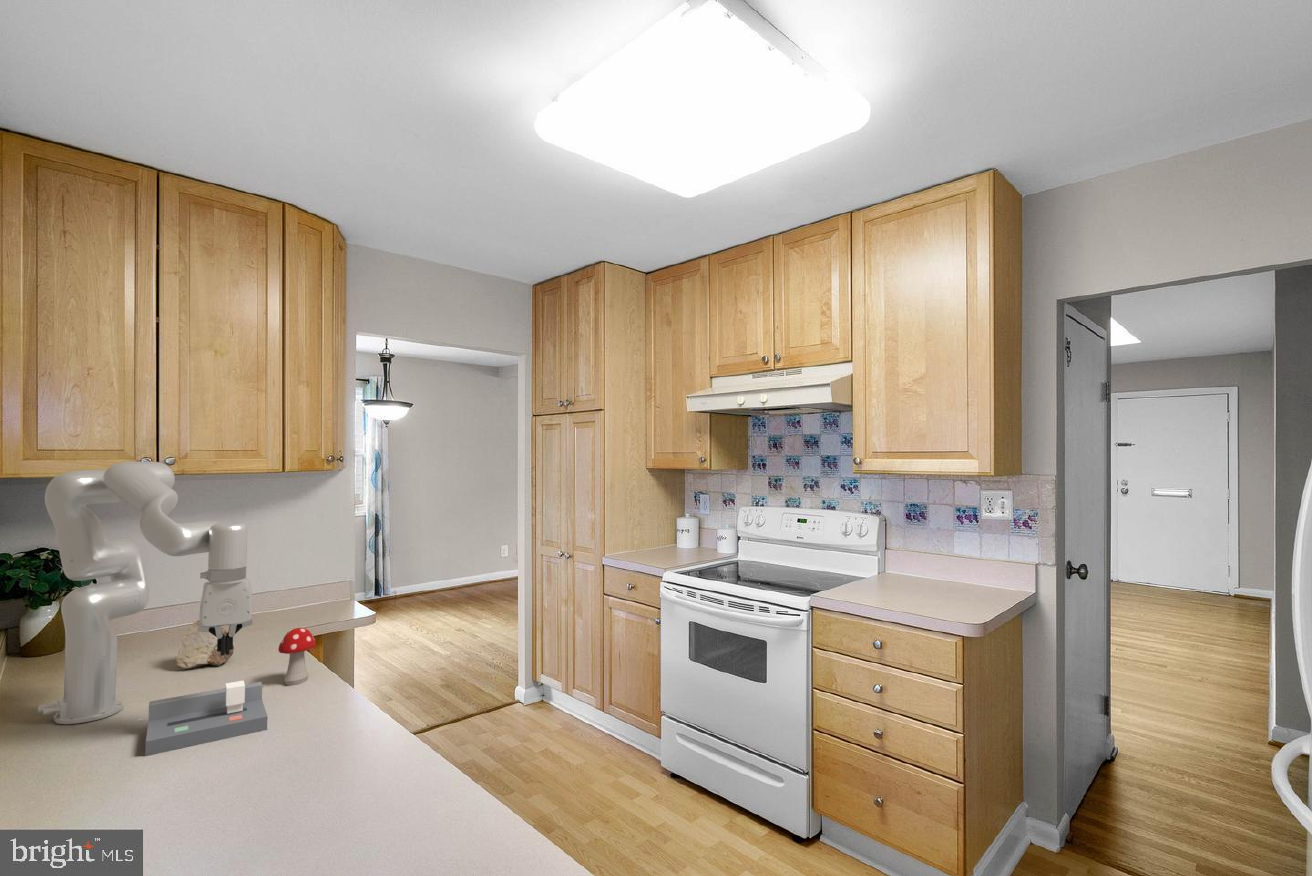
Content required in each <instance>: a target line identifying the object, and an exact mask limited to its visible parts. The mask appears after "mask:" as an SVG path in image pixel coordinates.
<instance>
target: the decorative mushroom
mask: <svg viewBox="0 0 1312 876" xmlns="http://www.w3.org/2000/svg"><path fill="white" fill-rule="evenodd" d="M314 637H315V636H313V634H312V633H311V631H310V630H309V629H307V628H304V627H296V628H293V629H291V630H289V631H288V632H287V633H286V634H285V635H284V636H283V639H282V640H281V642H280V643H279V646H278V650H277V651H278V653H280V654H285V655H287V654H288V655H289V657H288V658H289V660H288V665H287V670H286V674H285V675H284V679H283V681H284V685H286V686H296V685H301V684H302V683H305V682H306V681H307V680H308V677H309V675H310V674H309V672H308V669H307V665H306V658H305V652H307V651H309V650H312V649H314V647H315V646H316V644H317V643H316V639H315V638H314Z"/></svg>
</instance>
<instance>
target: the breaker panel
mask: <svg viewBox="0 0 1312 876" xmlns="http://www.w3.org/2000/svg"><path fill="white" fill-rule="evenodd" d="M262 730H263V731H267V730H268V713H267V711H266V707H265V705H264V702H263V683H262V681H258V682H253V683H251V682H250V683H247V684H245V703H243V711H239V712H234V713H229V714H227V706H226V703H225V687H224V688H218V689H212V690H207V691H201V692H195V693H190V694H185V695H180V696H179V695H178V696H173V697H168V698H162V699H156V700H152V701H150V700H149V702H148V723H147V729H146V738H145V752H144V755H145V757H147V756H151V755H156V754H160V753H161V754H162V753H166V752H170V751H175V750H179V749H184V748H188V747H193V746H197V745H198V746H199V745H203V744H207V743H210V742H211V743H212V742H216V741H220V740H225V739H230V738H235V737H239V736H240V737H241V736H242V735H243V736H244V735H248V734H252V733H253V734H254V733H257V732H262Z"/></svg>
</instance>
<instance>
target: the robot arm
mask: <svg viewBox="0 0 1312 876" xmlns="http://www.w3.org/2000/svg"><path fill="white" fill-rule="evenodd" d="M175 480H176V477H175V473H174V471H173V469H172V468H171V467H170V466H168V465H167V464H165V463H163V462H159V461H124V462H118V463H116V464H113V465H111V466H109V467H108V468H107V469H85V470H71V471H66V472H63V473H61V474H58V475H55V476H54V477H53V478H52V479H51V480H50V481H49V483H48V485H47V486H46V489H45V493H44V503H45V508H46V511H47V513H48V516H49V517H50V520H51V522H52V524H53V526H54V530H55V533H56V541H57V547H58V551H59V558H60V562H61V563H60V564H61V567H62V570H63V573H64V575H65V576H66V578H67V579H69V580H70V581H77V582H78V581H79V582H82V581H90V580H95V579H100V578H107V577H110V579H111V581H105V582H98V583H93V584H89V585H85V586H83V585H82V586H81V587H78V588H76V589H73V590H71V591H70V592H68V593H67V594H66V595H65V596H64V598H63V600H62V602H61V604H60V611H61V616H62V621H63V626H64V633H65V648H64V649H65V651H64V654H65V658H64V660H65V661H64V684H63V697H62V699H61V700H57V701H56V702H55V703H45V704H40V705H38V707H37V715H38V714H40V715H41V714H42V715H45V716H46V715H51V714H55V713H56V714H55V715H54V716H53V722H54V723H56V724H60V725H75V724H76V725H77V724H83V723H84V724H85V723H88V722H93V721H98V720H101V719H105V718H107V717H110V716H112V715H113V716H114V715H115V714H117V713H119V712H120V711H122V709H123V708H124V702H122V701H121V700H117V699H116V691H117V687H116V686H117V685H116V684H117V663H118V662H117V661H118V660H117V659H118V637H117V634H116V631H114V629H113V628H112V627H111V625H110V623H109V621H111V620H115V619H120V618H125V617H128V616H132V615H135V614H137V613H139V612H142V611H143V610H144V609H145V608H146V607H147V605H148V603H149V599H150V590H149V589H150V588H149V583H148V579H147V572H146V567H145V563H144V562H145V561H144V557H143V553H142V550H141V549H140V547H139V546H138V544H137V543H136V542H134V541H133V540H131V539H130V538H129V539H128V538H124V537H122V538H121V537H116V538H115V537H114V538H106V537H105V535H104V529H103V525H102V522H101V520H100V518H99V517H98V516H97V515H96V514H95V513H94V512H93V511H92V510H91V509H89V508H88V507H87V505H95V504H96V505H97V504H111V503H112V504H114V503H124V504H126V505H127V506H128V507H130V508H131V509H132V510H133V511H134V512H135V513H137V514H138V515H139V527H140V531H141V534H142V536H143V538H144V539H145V540H146V541H147V542H148V543H149V544H150V545H152V546H153V547H154V548H155V549H157V550H158V551H160V552H161V553H163V554H166V555H167V556H171V557H185V556H190V555H196V554H197V555H198V554H205V553H208V557H207V559H208V563H207V565H208V566H207V570H206V571H204V572H199V573H200V574H199V575H200V576H199V577H200V579H203V580H205V579H206V581H205V582H204V583H203V586H202V590H201V594H200V595H201V597H200V604H199V619H198V620H199V621H200V623H199V626H198V631H199V632H210V633H211V634H213V635H214V636H215V637H217V638H218V639H217V652H219V651H221V656H222V655H225V654H226V655H229V650H232V649H233V646H234V637H235V635H236V634H237V633H238V632H239V631H240V630H241V629H244V628H246V627H250V626H252V625H253V624H254V622H253V619H252V616H253V592H252V585H251V581H250V579H249V578H247V560H248V559H247V556H248V555H247V554H248V553H247V552H248V551H247V550H248V526H247V525H246V524H245V523H243V522H223V521H219V520H203V521H194V522H193V521H192V522H191V521H190V522H183V523H177V522H175V520H173V519H172V518H170V517H169V516H167V515H169V514H170V513H171V512H172V511H173V510H174V509H175V507H177V505H178V501H179V496H178V493H177V492H176V490H174V489H173V486H175V485H174V484H175ZM221 626H223V627H225V626H229V627H228V631H227V635H226V636H224V633H222V628H221Z"/></svg>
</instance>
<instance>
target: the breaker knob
mask: <svg viewBox="0 0 1312 876" xmlns="http://www.w3.org/2000/svg"><path fill="white" fill-rule="evenodd" d="M245 685H246V684H245V681H244V679H243V680H238V681H233V682H227V683H225V686H224V688H225V703H226V706H227V714H229V713H234V712H239V711H243V703H245Z"/></svg>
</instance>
